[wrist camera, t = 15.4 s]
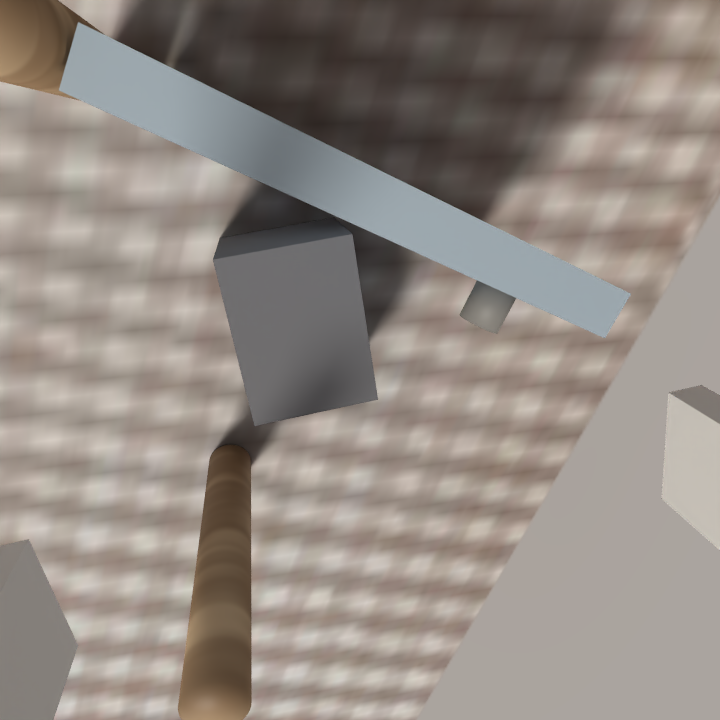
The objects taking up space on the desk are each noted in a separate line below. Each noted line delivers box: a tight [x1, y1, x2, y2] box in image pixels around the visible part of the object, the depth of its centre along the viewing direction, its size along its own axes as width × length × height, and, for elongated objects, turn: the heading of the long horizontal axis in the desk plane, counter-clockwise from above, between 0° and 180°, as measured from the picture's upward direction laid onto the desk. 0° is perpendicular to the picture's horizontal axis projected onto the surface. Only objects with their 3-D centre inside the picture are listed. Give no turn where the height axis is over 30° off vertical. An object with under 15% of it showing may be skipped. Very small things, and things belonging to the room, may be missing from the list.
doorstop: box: [213, 218, 378, 426], centre depth 29 cm, size 8×6×6 cm
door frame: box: [0, 0, 251, 720], centre depth 23 cm, size 23×2×16 cm, turn 9°
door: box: [59, 22, 631, 338], centre depth 23 cm, size 17×4×14 cm, turn 65°
